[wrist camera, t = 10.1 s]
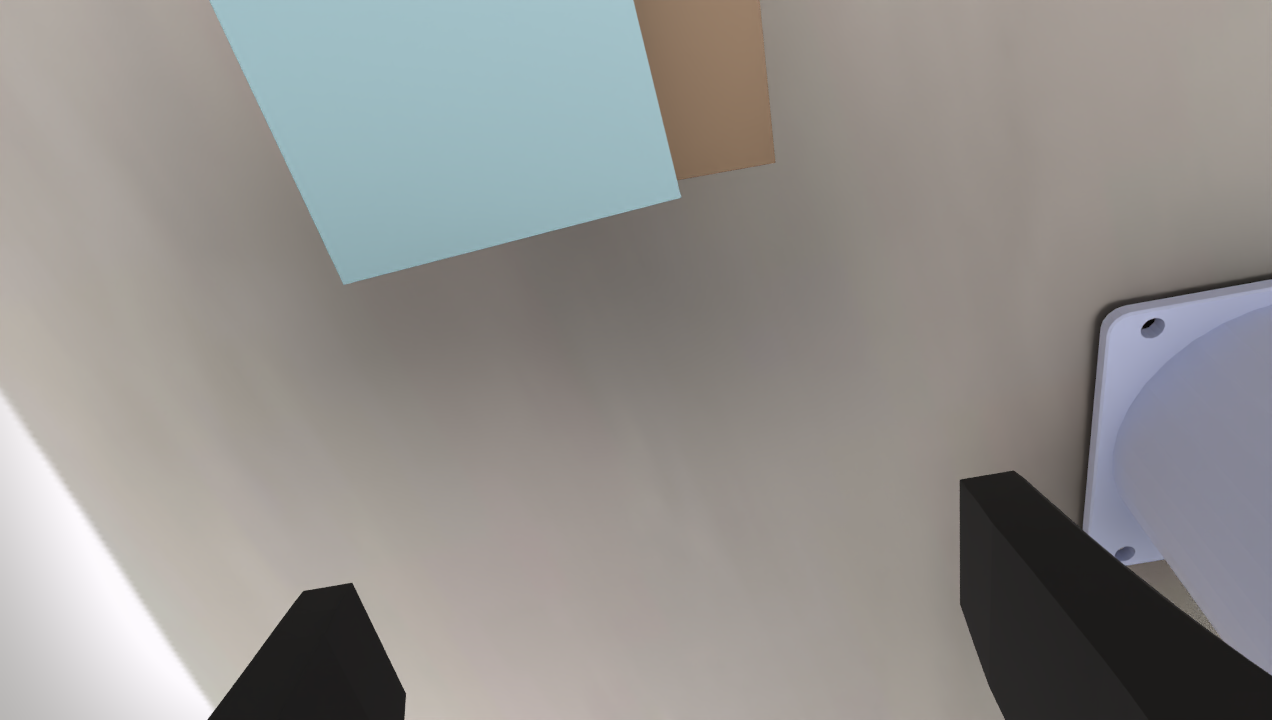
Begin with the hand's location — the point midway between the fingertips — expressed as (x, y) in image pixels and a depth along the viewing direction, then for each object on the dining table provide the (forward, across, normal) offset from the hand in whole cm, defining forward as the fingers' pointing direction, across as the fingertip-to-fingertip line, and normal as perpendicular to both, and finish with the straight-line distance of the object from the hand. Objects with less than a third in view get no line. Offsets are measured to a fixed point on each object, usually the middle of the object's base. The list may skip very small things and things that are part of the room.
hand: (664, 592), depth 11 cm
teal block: (+8, +1, -6) cm, 10 cm away
